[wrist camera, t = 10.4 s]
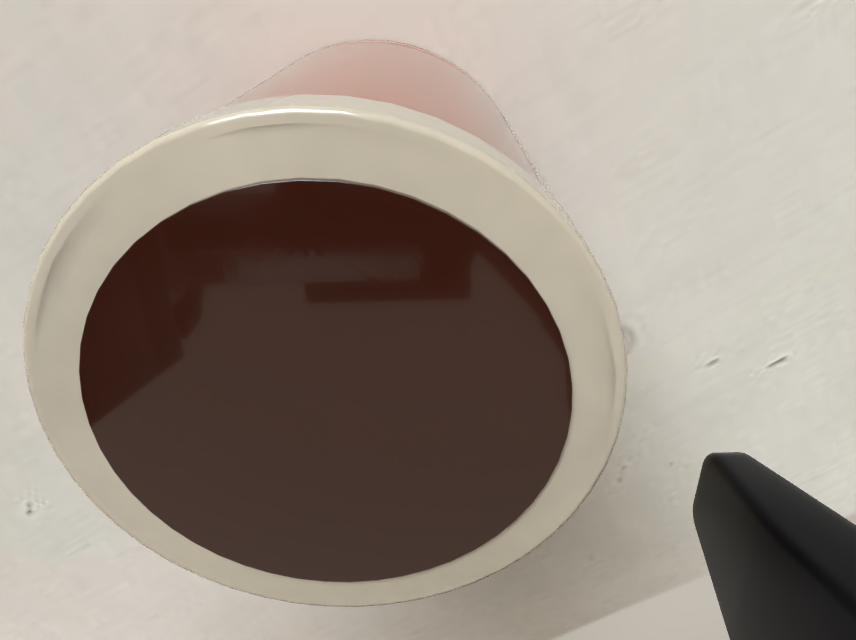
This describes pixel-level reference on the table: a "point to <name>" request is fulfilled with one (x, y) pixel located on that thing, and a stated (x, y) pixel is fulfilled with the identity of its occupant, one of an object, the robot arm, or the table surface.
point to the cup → (330, 338)
